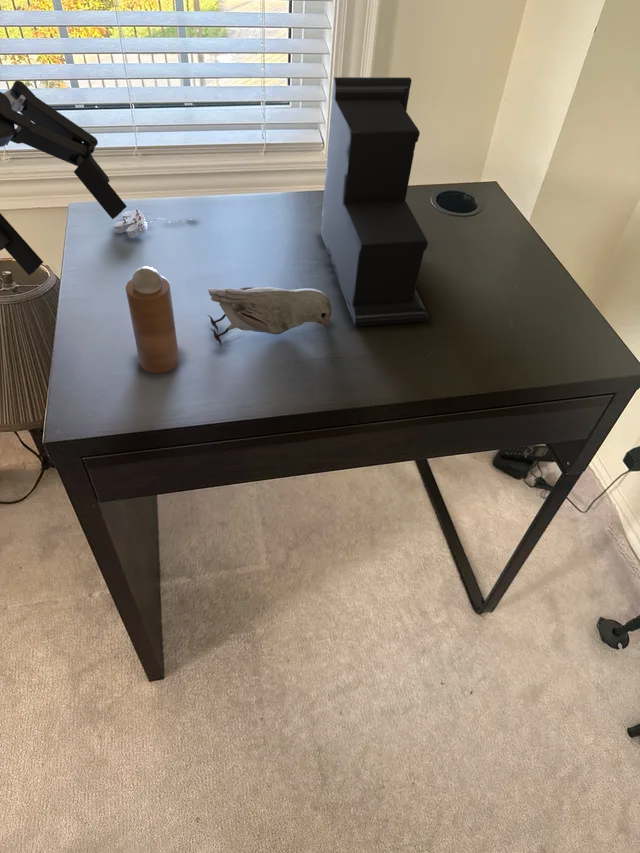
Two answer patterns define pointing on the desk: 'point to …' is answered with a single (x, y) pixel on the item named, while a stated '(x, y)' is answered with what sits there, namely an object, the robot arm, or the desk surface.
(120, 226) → the game controller
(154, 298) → the pepper mill
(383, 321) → the bookend
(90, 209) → the desk surface
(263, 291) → the decorative bird
